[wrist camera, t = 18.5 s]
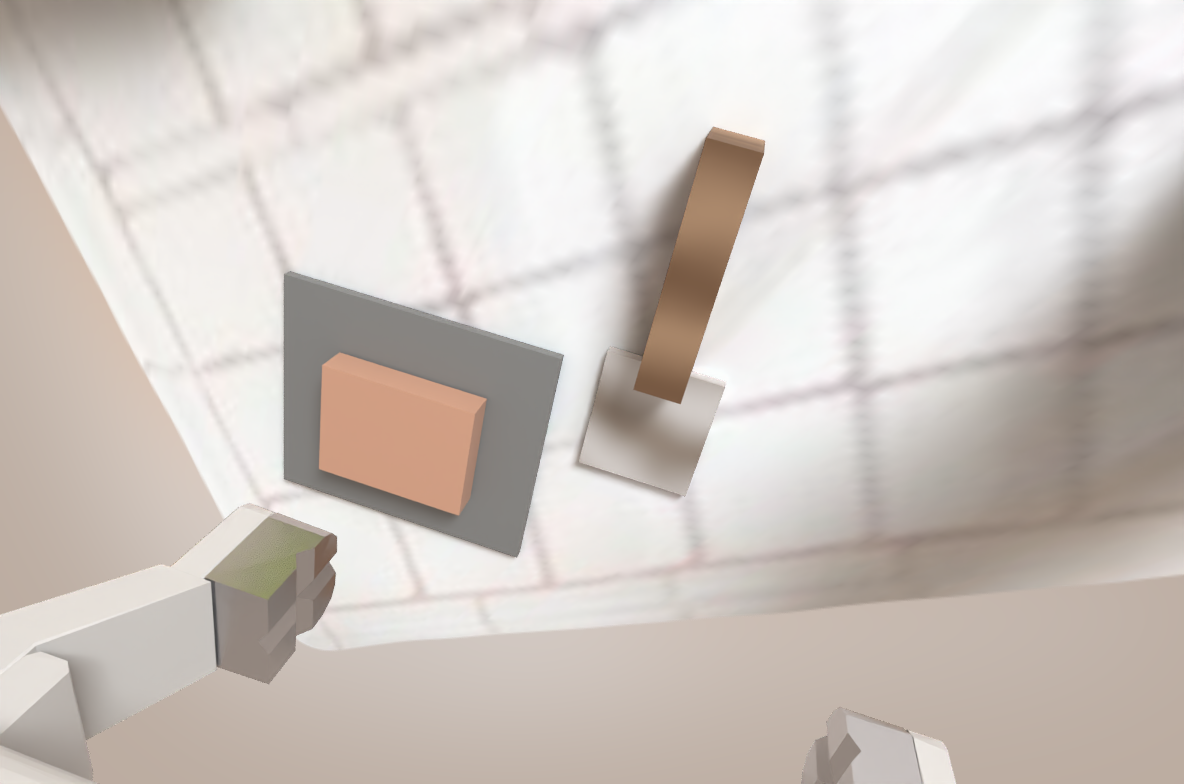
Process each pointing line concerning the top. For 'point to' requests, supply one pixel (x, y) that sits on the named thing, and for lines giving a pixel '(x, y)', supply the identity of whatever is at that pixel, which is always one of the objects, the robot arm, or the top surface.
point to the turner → (676, 336)
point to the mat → (439, 354)
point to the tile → (399, 432)
